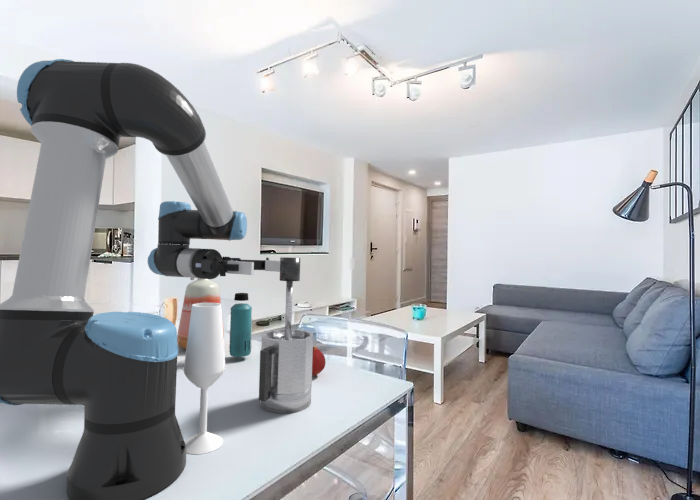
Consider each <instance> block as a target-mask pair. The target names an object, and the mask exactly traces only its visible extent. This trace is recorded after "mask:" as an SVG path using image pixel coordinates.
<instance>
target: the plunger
mask: <svg viewBox="0 0 700 500" xmlns="http://www.w3.org/2000/svg"><path fill="white" fill-rule="evenodd" d="M279 261H280V272H279V281H280V282H286V286H285V287H286V288H285V313H284V314H285V318H284V329H285V338H277V340H297V339H300V338H291V329H292V323H293V322H292V321H293V293H294V292H293V291H294V290H293V287H294V282H299V281H300V280H301V257H284V256H283V257H282V256H281V257H279ZM300 282H301V281H300Z"/></svg>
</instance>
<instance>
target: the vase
mask: <svg viewBox="0 0 700 500" xmlns="http://www.w3.org/2000/svg"><path fill="white" fill-rule="evenodd" d="M184 292H185V293H184V297H183V303H182V308H181V312H180V319H179V324H178V329H177V346H178V347H179V348H180V349H183V350H185V351H186V347H187V339H188V332H189V324H190V316H191V308H192V305H193V304H197V303H220V304H221V305H222V303H221V300H222V299H221V293H220V286H219V284H218V283H216V282H215V281H214V280H213V281H212V280H211V279H201V278H196V280H192V281H191V282H190V283H188V284H187V285H186V288H185V291H184ZM222 323H223V324H224V321H223V317H222ZM224 329H225V328H224V327H223V338H224V339H225V330H224Z"/></svg>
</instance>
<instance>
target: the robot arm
mask: <svg viewBox="0 0 700 500" xmlns="http://www.w3.org/2000/svg"><path fill="white" fill-rule="evenodd" d="M16 99H17V103H18V104H21V107H20V108H19V111H20V113H21V115H22V117H23V118H24V120H26V122H27V124H29V125H30V132H31V134H32V135H33V136H34V138H35V139H36V140H37V141H38V142H40V147H39V155H38V158H37V162H36V163H37V164H36V169H35V174H34V175H35V176H34V179H33V185H32V191H31V195H30V201H29V205H28V212H27V217H26V221H25V227H24V232H23V236H22V237H23V238H22V243H21V247H20V253H19V258H18V263H17V268H16V273H15V278H14V284H13V289H12V294H11V295H10V297H9V298H8V299H6V300H4V301H3V302H1V303H0V404H3V405H4V404H5V405H10V406H20V405H63V406H65V405H67V406H68V405H69V406H72V405H75V406H76V405H77V406H78V405H79V406H84V414H83V415H84V416H83V417H84V418H83V420H84V421H83V432H82V435H81V438H80V439H79V442H78V444H77V448H76V450H75V453H74V456H73V458H72V462H71V463H70V466H69V468H68V471H67V475H66V495H67V497H68V499H69V500H143V499H146V498H148V497H150V496H153V495H155V494H157V493H159V492H160V491H162V490H165V489H166V488H167V487H168V486H170V485H172V484H173V483H174V482H175V481H177V479H179V477H180V476H181V474H183V472H184V470H185V467H186V465H187V453H186V445H185V440H184V438H183V434H182V431H181V427H180V424H179V421H178V419H177V415H176V396H177V376H178V375H177V373H178V355H179V345H178V343H177V334H178V329H177V327H176V325H175V323H173V322H172V321H171V320H169V319H168V318H166V317H164V316H161V315H158V314H154V313H153V314H152V313H149V312H148V313H147V312H140V311H139V312H138V311H126V312H125V311H108V312H102V313H101V312H100V313H97V314H94V311H95V310H94V308H93V307H92V306H91V305H89V304H88V303H87V302H86V299H85V294H86V288H87V281H88V274H89V269H90V263H91V257H92V250H93V243H94V237H95V233H96V231H95V230H96V225H97V217H98V211H99V205H100V199H101V192H102V186H103V180H104V172H105V167H106V161H107V159H109V158H111V157H113V156H116V155H117V153H118V152H119V145H120V140H121V138H141V139H145V140H148V141H150V142H151V143H152V145H153V146H154V148H155V149H156V151H158V152H159V153H160V154H162V155H164V156H166V157H167V160H168V161H169V163H170V165H171V166H172V168H173V169H174V171H175V174H176V175H177V177H178V179H179V181H180V182H181V183H182V185H183V187H184V189H185V190H186V192H187V194H188V196H189V198H190V199H191V201H192V203H193V205H194V207H195V208H196V209H192V207H191V204H190V203H188V202H185V201H175V200H171V201H170V200H168V201H167V200H166V201H162V202H161V203H160V205H159V209H158V212H159V213H158V218H157V220H158V227H157V228H158V230H157V232H158V234H157V241H158V242H157V247H155V248H154V249H152V250H151V251H150V253H149V255H148V257H147V266H148V268H149V270H150V271H151V272H152V273H154V274H156V275H159V276H164V277H175V278H189V279H190V281H195V279H198V278H201V279H209V280H214V279H216V278H218V277H226V276H227V274H229V275H230V274H231V275H232V274H233V275H247V276H254V275H255V274H254V271H265V272H279V273H280V260H271V259H270V258H269V257H266V258H265V260H263V259H262V260H261V259H241V258H240V257H230V256H222V254H221V252H219V251H218V250H217V249H215V248H214V249H213V248H199V247H198V248H196V247H194V248H193V247H190V244H191V242H190V241H191V240H214V241H215V240H217V241H220V240H221V241H240V240H243V239H245V237H246V236H247V235H246V234H247V231H248V220H247V216H246V213H244V212H243V211H237V210H235V211H234V210H233V208H232V206H231V203H230V201H229V198H228V196H227V193H226V191H225V188H224V187H223V183H222V182H221V179H220V176H219V174H218V172H217V169H216V167H215V165H214V162H213V159H212V158H211V155H210V153H209V150H208V148H207V146H206V142H205V141H206V139H207V138H206V137H207V132H206V129H205V126H204V124H203V122H202V118H201V117H200V115H199V113H198V112H197V110H196V109H195V107H194V106H193V104H192V103H191V102H190V100H188V98H187V97H186V96H185V95H184V94H183V93H182V92H181V90H179V88H177V87H176V86H175V85H174V84H173V83H172V82H170V81H169V80H167V79H166V78H165V77H163V76H162V74H160V73H158V72H156V71H154V70H152V69H151V68H148V67H145V66H143V65H140V64H136V63H134V62H133V63H132V62H119V63H117V62H99V61H97V62H96V61H75V60H72V59H64V58H59V59H57V58H56V59H53V60H40V61H36V62H33V63H31V64H30V65H28V66H27V67H26V68H25V69H24V70H23V72H22V73H21V75H20V76H19V79H18V81H17V86H16Z"/></svg>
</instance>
